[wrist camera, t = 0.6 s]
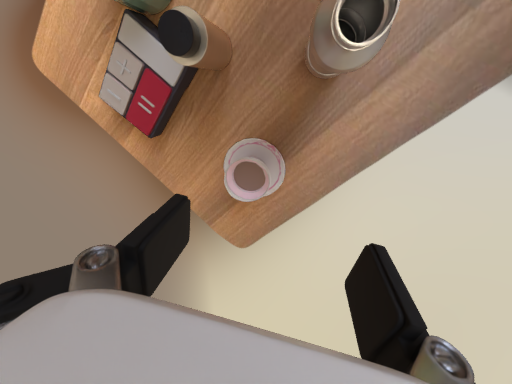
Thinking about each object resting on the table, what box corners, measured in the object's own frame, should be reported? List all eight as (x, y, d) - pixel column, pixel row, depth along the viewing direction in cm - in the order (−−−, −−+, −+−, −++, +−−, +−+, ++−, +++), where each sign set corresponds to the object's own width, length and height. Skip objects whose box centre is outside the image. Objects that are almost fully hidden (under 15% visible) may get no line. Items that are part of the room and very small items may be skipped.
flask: (196, 27, 32) (145, -1, 21) (232, 27, 31) (197, -2, 20) (199, 69, 34) (155, 63, 24) (232, 71, 34) (202, 65, 23)
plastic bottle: (295, 64, 32) (291, 41, 14) (323, 13, 28) (362, -100, 11) (331, 87, 32) (369, 92, 15) (362, 39, 29) (459, -29, 11)
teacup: (248, 123, 37) (240, 130, 31) (299, 166, 39) (299, 180, 33) (213, 170, 42) (200, 183, 37) (258, 206, 44) (253, 223, 39)
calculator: (93, 97, 36) (120, 5, 28) (113, 94, 39) (142, 12, 32) (148, 140, 38) (186, 65, 30) (162, 134, 41) (199, 66, 34)
